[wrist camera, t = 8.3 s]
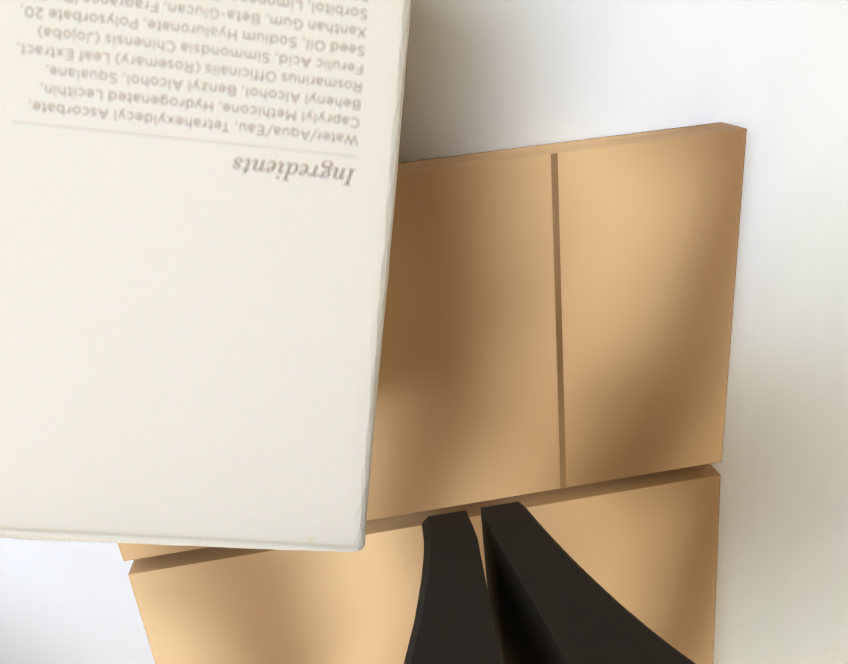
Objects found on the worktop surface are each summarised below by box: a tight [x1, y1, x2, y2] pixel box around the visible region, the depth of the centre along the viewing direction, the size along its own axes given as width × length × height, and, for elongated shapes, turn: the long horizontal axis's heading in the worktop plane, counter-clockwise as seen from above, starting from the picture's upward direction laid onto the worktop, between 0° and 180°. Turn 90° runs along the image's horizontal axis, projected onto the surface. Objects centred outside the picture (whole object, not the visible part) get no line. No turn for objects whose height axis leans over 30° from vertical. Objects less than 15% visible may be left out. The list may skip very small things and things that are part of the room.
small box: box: [0, 0, 412, 552], centre depth 14 cm, size 8×6×10 cm
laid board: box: [118, 122, 747, 561], centre depth 20 cm, size 18×10×1 cm, turn 96°
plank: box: [128, 464, 720, 664], centre depth 24 cm, size 18×10×1 cm, turn 96°
